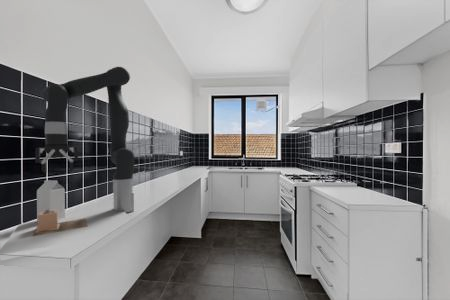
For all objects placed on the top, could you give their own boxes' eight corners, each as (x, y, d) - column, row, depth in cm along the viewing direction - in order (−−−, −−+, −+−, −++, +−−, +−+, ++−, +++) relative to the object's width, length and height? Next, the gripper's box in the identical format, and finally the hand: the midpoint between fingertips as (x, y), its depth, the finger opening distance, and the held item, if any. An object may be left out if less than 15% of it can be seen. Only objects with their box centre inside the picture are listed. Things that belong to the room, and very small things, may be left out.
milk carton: (50, 225, 96) (49, 181, 96) (36, 224, 97) (36, 181, 97) (65, 220, 103) (64, 179, 103) (52, 219, 104) (52, 179, 104)
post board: (86, 221, 100) (86, 201, 100) (87, 229, 90) (87, 207, 90) (37, 229, 91) (37, 207, 91) (32, 240, 80) (32, 214, 80)
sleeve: (57, 224, 91) (57, 209, 92) (56, 228, 87) (56, 212, 87) (40, 227, 88) (40, 212, 88) (38, 231, 84) (38, 215, 84)
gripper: (76, 134, 100) (78, 169, 100) (35, 133, 92) (37, 172, 92) (77, 132, 94) (78, 171, 94) (33, 132, 85) (34, 174, 86)
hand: (58, 172), depth 93 cm, fingers open, 8 cm apart
